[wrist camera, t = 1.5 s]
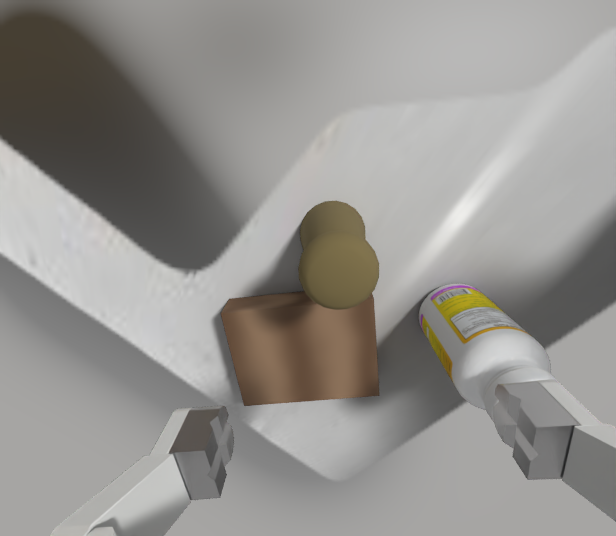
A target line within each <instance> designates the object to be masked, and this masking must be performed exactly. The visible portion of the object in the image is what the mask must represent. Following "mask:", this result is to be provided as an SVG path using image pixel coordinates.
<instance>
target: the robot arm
mask: <svg viewBox="0 0 616 536" xmlns="http://www.w3.org/2000/svg"><path fill="white" fill-rule="evenodd" d="M495 396H496V397H497V399H498V400H499V402H498V403H497V404H496V405H495V406H494V407H493V419H494V423H495V427H496V429H497V431H498V434H499V435H500V437H501V439H502V440H503V442H504V443H506V444H508V445H509V446H510V447H512V448H514V451H513V458H514V459H515V461H516V462H517V464H518V465H519V467H520V469H521V470H522V472H523V473H524V475H525V476H526V478H527V479H528V480H535V479H562V481H564V482H565V483H566V484H568V485H569V486H570V487H571V488H573V489H574V490H575V491H577V492H578V493H579V494H580V495H582V496H583V497H585V498H586V499H587V500H588V501H590V502H591V503H593V504H594V505H595V506H596V507H597V508H599V509H600V510H601V511H603V512H604V513H606V514H607V515H608V516H609V517H611V518H612V519H613V520H615V521H616V427H614V426H612V425H610V424H602V423H601V422H600V421H599V420H598V419H597V418H595V417H594V416H593V415H592V414H591V413H590V412H589V411H588V410H587V409H586V408H585V407H584V406H583V405H582V404H581V403H580V402H579V401H578V400H577V399H576V398H575V397H574V396H573V395H572V394H571V393H569V392H568V391H567V390H566V389H565V388H564V387H563V386H562V385H561V384H560V383H559V382H558V381H556V380H554V379H548V380H537V381H528V382H517V383H505V384H498V385H497V387H496V389H495ZM227 418H228V412H227V409H226V407H225V406H210V407H193V408H180V409H176V410H175V411H174V412H173V413H172V415H171V417H170V418H169V420H168V422H167V424H166V426H165V428H164V430H163V431H162V433H161V435H160V437H159V439H158V440H157V443H156V444H155V446H154V448H153V449H152V451H151V453H150V455H146V456H143V457H142V458H141V459H140V460H138V461H137V462H136V463H135V464H133V465H132V466H131V467H130V468H129V469H127V470H126V471H125V472H124V473H123V474H121V475H120V476H119V477H117V478H116V479H115V480H114V481H113V482H111V483H110V484H109V485H108V486H106V487H105V488H104V489H103V490H101V491H100V492H99V493H98V494H96V495H95V496H94V497H93V498H92V499H90V500H89V501H88V502H87V503H85V504H84V505H83V506H82V507H81V508H79V509H78V510H77V511H75V513H73V514H72V515H71V516H69V517H68V518H67V519H66V520H65V521H63V522H62V523H61V524H59V525H58V526H57V527H56V528H55V529H54V531H53V532H52V533H51V535H50V536H164V535H165V534H166V532H167V531H168V530H169V529H170V528H171V526H172V525H173V524H174V522H175V521H176V520H177V519H178V518H179V516H180V515H181V514H182V513H183V511H184V510H185V509H186V508H187V506H188V505H189V504H190V503H191V501H190V500H198V499H210V498H220V496H221V492H222V489H223V485H224V482H225V478H226V475H227V474H226V471H225V467H224V466H225V465H226V464H227V463H228V462H229V461H230V460H231V456H232V453H233V445H234V437H233V430H232V426H231V425H229V424H228V423H227Z"/></svg>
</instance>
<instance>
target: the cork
mask: <svg viewBox="0 0 616 536" xmlns="http://www.w3.org/2000/svg"><path fill="white" fill-rule="evenodd" d="M300 239H301V244H302V247H303V250H304V251H303V253H302V255H301V259H300V263H299V267H298V271H299V280H300V283H301V285H302V287H303V289H304V291H305V293H306V294H307V295H308V296H309V297H310V299H311V300H312V301H313V302H315V303H317V304H319V305H320V306H322V307H325V308H329V309H333V310H341V309H349V308H351V307H354V306H357V305H359V304H360V303H362V302H363V301H365V300H366V299H367V298H368V297H369V296H370V295H371V293H372V292H373V291H374V289H375V287H376V284H377V281H378V278H379V262H378V259H377V256H376V254H375V251H374V250H373V248H372V247H371V246H370V245H369V243H368V242H367V241H366V240H365V225H364V223H363V220H362V217H361V216H360V215H359V213H358V212H357V211H356V209H354V208H353V207H351V206H350V205H348V204H347V203H343V202H339V201H327V202H323V203H321V204H318V205H316V206H315V207H313V208H312V209H311V210H310V211H309V212H308V213H307V214H306V216H305V217H304V219H303V221H302V224H301V228H300Z"/></svg>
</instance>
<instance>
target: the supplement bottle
mask: <svg viewBox="0 0 616 536" xmlns="http://www.w3.org/2000/svg"><path fill="white" fill-rule="evenodd" d="M419 322H420V326H421V328H422V330H423V332H424V334H425V336H426V337H427V339H428V341H429V342H430V344H431V346H432V348H433V349H434V351H435V353H436V354H437V356H438V358H439V359H440V361H441V363H442V365H443V366H444V368H445V370H446V371H447V373H448V375H449V377H450V378H451V380H452V382H453V384H454V385H455V387H456V389H457V390H458V392H459V393H460V395H461V396H462V397H463V398H464V399H465V400H466V401H468V402H469V403H470V404H472V405H474V406H476V407H478V408H481V409H485V410H486V411H487V413H488V414H489V416H490V417H491V419H492V420H493V422H494V419H493V407H494V406H495V405H496V404H497V403H498V402H499V400H498V399H497V397H496V396H495V389H496V387H497V385H498V384H505V383H517V382H528V381H537V380H548V379H554V380H556V381H557V379H556V378H555V377H554V376H553V375H552V374H550V373H551V366H550V360H549V357H548V355H547V353H546V351H545V349H544V348H543V347H542V346H541V344H540V343H539V342H537V341H536V340H535V339H534V338H533V337H532V336H531V335H530V334H529V333H527V332H526V331H525V330H524V329H523V328H521V327H520V326H519V325H518V324H517V323H516V322H515V321H513V320H512V319H511V318H510V317H509V316H508V315H507V314H505V313H504V312H503V311H502V310H501V309H500V308H499V307H497V306H496V305H495V304H494V303H493V302H492V301H491V300H489V299H488V298H487V297H486V296H485V295H484V294H483V293H481V292H480V291H479V290H477V289H476V288H474V287H472V286H469V285H466V284H459V283H456V284H448V285H444V286H442V287H439V288H437V289H436V290H434V291H433V292H431V293H430V294H429V295H428V296H427V297H426V299H425V300H424V302H423V303H422V305H421V308H420V311H419Z"/></svg>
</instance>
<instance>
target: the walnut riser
mask: <svg viewBox="0 0 616 536" xmlns="http://www.w3.org/2000/svg"><path fill="white" fill-rule="evenodd" d="M221 317H222V321H223V325H224V329H225V332H226V336H227V340H228V344H229V348H230V352H231V356H232V360H233V364H234V368H235V372H236V376H237V379H238V383H239V387H240V391H241V395H242V399H243V403H244V406H250V405H263V404H276V403H289V402H302V401H315V400H328V399H342V398H355V397H368V396H379V380H378V363H377V346H376V329H375V313H374V298H373V295H372V293H371V295H370V296H369V297H368V298H367V299H366V300H365V301H363V302H362V303H360V304H359V305H357V306H354V307H351V308H349V309H341V310H333V309H329V308H325V307H322V306H320V305H319V304H317V303H315V302H313V301H312V300H311V299H310V297H309V296H308V295H307V294H306V293H305V291H302V292H292V293H282V294H273V295H263V296H253V297H243V298H234V299H229V300H228V302H227V304H226V305H225V307H224V309H223V310H222V312H221Z"/></svg>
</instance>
